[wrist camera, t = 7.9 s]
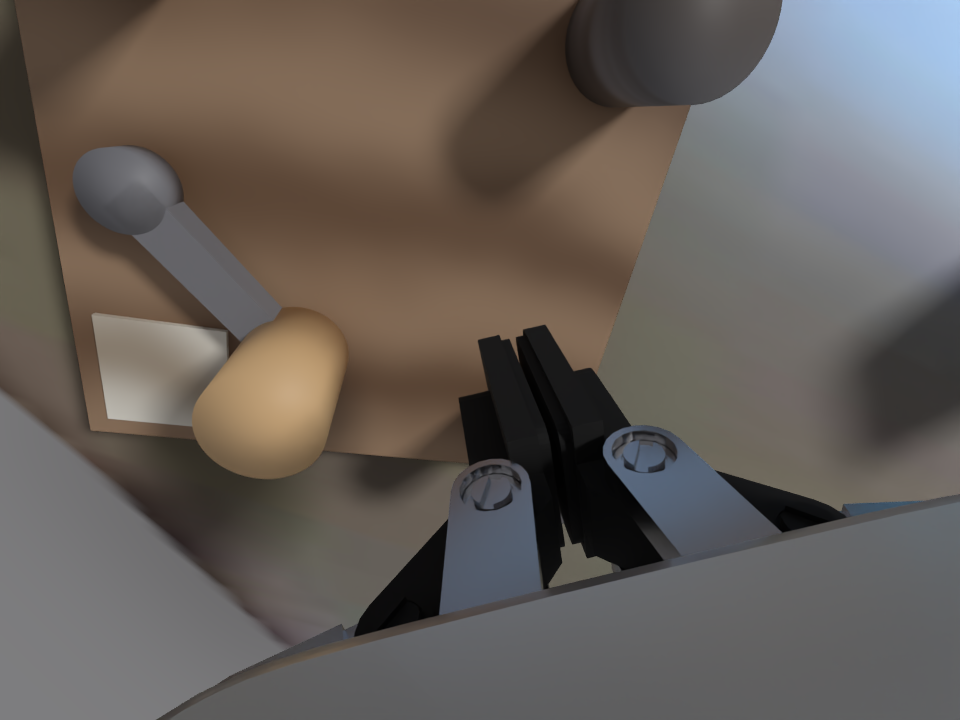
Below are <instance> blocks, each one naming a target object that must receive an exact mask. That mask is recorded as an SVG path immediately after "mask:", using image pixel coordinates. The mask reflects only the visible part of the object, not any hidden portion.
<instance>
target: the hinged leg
mask: <svg viewBox="0 0 960 720" xmlns="http://www.w3.org/2000/svg"><path fill="white" fill-rule="evenodd" d="M73 187H74V191H75V194H76V196H77V198H78V201H79V202H80V204H81V206H82V207H83V208H84V210H85V211H86V212H87V213H88V214H89V215H90V216H91V217H92V218H93V219H94V220H95V221H96V222H98V223H99V224H101V225H102V226H104V227H106V228H107V229H110V230H112V231H114V232H117V233H121V234H126V235H132V236H133V237H134V238H135V239H136V240H137V241H138V242H139V243H140V244H141V245H142V246H143V247H145V248H146V249H147V250H148V251H149V252H150V253H151V254H152V255H153V256H154V257H155V258H156V259H157V260H158V261H159V262H160V263H161V264H162V265H163V266H164V267H165V268H166V269H167V270H168V271H169V272H170V273H171V274H172V275H173V276H174V277H175V278H176V279H177V280H178V281H179V282H180V283H181V284H182V285H183V286H184V287H185V288H186V289H187V290H188V291H189V292H190V293H191V294H193V295H194V296H195V297H196V298H197V299H198V300H199V301H200V302H201V303H202V304H203V305H204V306H205V307H206V308H207V309H208V310H209V311H210V312H211V313H212V314H213V315H214V316H215V317H216V318H217V319H218V320H219V321H220V322H221V323H222V324H223V325H224V326H225V327H226V328H227V329H228V330H229V331H230V332H231V333H232V334H233V335H234V336H235V337H236V338H237V339H238V340H239V341H240V342H241V343H240V344H239V346H238V347H237V348H236V350H235V351H234V352H233V354H232V355H231V356H230V358H229V359H228V360H227V361H226V363H225V364H224V365H223V367H222V368H221V369H220V371H219V372H218V373H217V374H216V376H215V377H214V378H213V380H212V381H211V382H210V384H209V385H208V386H207V388H206V389H205V390H204V391H203V393H202V394H201V395H200V397H199V398H198V400H197V402H196V404H195V406H194V409H193V414H192V427H193V432H194V435H195V437H196V440H197V442H198V444H199V445H200V447H201V448H202V449H203V451H204V452H205V453H206V454H207V455H208V456H209V457H210V458H211V459H212V460H213V461H215V462H216V463H217V464H219V465H220V466H222V467H224V468H225V469H227V470H229V471H232V472H234V473H236V474H239V475H242V476H246V477H251V478H257V479H277V478H284V477H288V476H291V475H294V474H297V473H299V472H301V471H303V470H305V469H306V468H308V467H309V466H310V465H312V464H313V463H314V462H315V461H316V460H317V459H318V457H319V456H320V455H321V453H322V451H323V449H324V447H325V444H326V441H327V437H328V434H329V430H330V426H331V423H332V419H333V415H334V412H335V408H336V404H337V401H338V397H339V393H340V390H341V386H342V382H343V379H344V375H345V372H346V368H347V364H348V359H349V350H348V345H347V342H346V339H345V337H344V335H343V333H342V332H341V330H340V329H339V328H338V326H337V325H336V324H335V323H334V322H333V321H331V320H330V319H329V318H328V317H326V316H324V315H323V314H321V313H319V312H317V311H314V310H311V309H307V308H303V307H284V308H282V307H281V306H280V305H279V304H278V303H277V302H276V301H275V299H274V298H273V297H272V296H271V295H270V294H269V293H268V292H267V291H266V290H265V289H264V288H263V287H262V285H261V284H260V283H259V282H258V281H257V280H256V279H255V278H254V277H253V276H252V275H251V274H250V273H249V271H248V270H247V269H246V268H245V267H244V266H243V265H242V264H241V263H240V262H239V261H238V260H237V259H236V257H235V256H234V255H233V254H232V253H231V252H230V251H229V250H228V249H227V248H226V247H225V246H224V245H223V244H222V242H221V241H220V240H219V239H218V238H217V237H216V236H215V235H214V234H213V233H212V232H211V231H210V230H209V228H208V227H207V226H206V225H205V224H204V223H203V222H202V221H201V220H200V219H199V218H198V217H197V216H196V214H195V213H194V212H193V211H192V210H191V209H190V208H189V207H188V206H187V205H186V204H185V203H184V192H183V187H182V184H181V181H180V179H179V177H178V175H177V173H176V172H175V170H174V169H173V168H172V166H171V165H170V164H169V163H168V162H167V161H166V160H165V159H163V158H162V157H161V156H160V155H158V154H156V153H155V152H153V151H151V150H149V149H146V148H144V147H140V146H135V145H123V146H114V147H104V148H97V149H93V150H91V151H89V152H87V153H85V154H84V155H83V156H82V157H81V158H80V159H79V160H78V161H77V163H76V165H75V167H74V171H73Z"/></svg>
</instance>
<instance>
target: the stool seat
mask: <svg viewBox="0 0 960 720" xmlns="http://www.w3.org/2000/svg"><path fill="white" fill-rule="evenodd" d="M14 2H15V7H16V13H17V19H18V24H19V30H20V36H21V41H22V47H23V52H24V58H25V64H26V69H27V75H28V81H29V86H30V92H31V97H32V103H33V109H34V114H35V120H36V126H37V131H38V137H39V142H40V148H41V154H42V159H43V165H44V171H45V176H46V182H47V187H48V193H49V199H50V204H51V210H52V216H53V221H54V227H55V232H56V238H57V244H58V249H59V255H60V261H61V266H62V272H63V277H64V283H65V289H66V294H67V300H68V306H69V311H70V317H71V322H72V328H73V334H74V339H75V345H76V351H77V356H78V362H79V367H80V373H81V379H82V384H83V390H84V396H85V401H86V407H87V412H88V418H89V424H90V429H91V431H102V432H114V433H125V434H137V435H148V436H160V437H171V438H183V439H194V440H196V437H195V435H194V432H193V427H192V414H193V409H194V406H195V404H196V402H197V400H198V398H199V397H200V395H201V394H202V393H203V391H204V390H205V389H206V388H207V386H208V385H209V384H210V382H211V381H212V380H213V378H214V377H215V376H216V374H217V373H218V372H219V371H220V369H221V368H222V367H223V365H224V364H225V363H226V361H227V360H228V359H229V358H230V356H231V355H232V354H233V352H234V351H235V350H236V348H237V347H238V346H239V344H240V343H241V342H240V341H239V340H238V339H237V338H236V337H235V336H234V335H233V334H232V333H231V332H230V331H229V330H228V329H227V328H226V327H225V326H224V325H223V324H222V323H221V322H220V321H219V320H218V319H217V318H216V317H215V316H214V315H213V314H212V313H211V312H210V311H209V310H208V309H207V308H206V307H205V306H204V305H203V304H202V303H201V302H200V301H199V300H198V299H197V298H196V297H195V296H194V295H193V294H191V293H190V292H189V291H188V290H187V289H186V288H185V287H184V286H183V285H182V284H181V283H180V282H179V281H178V280H177V279H176V278H175V277H174V276H173V275H172V274H171V273H170V272H169V271H168V270H167V269H166V268H165V267H164V266H163V265H162V264H161V263H160V262H159V261H158V260H157V259H156V258H155V257H154V256H153V255H152V254H151V253H150V252H149V251H148V250H147V249H146V248H145V247H143V246H142V245H141V244H140V243H139V242H138V241H137V240H136V239H135V238H134V237H133V236H132V235H126V234H121V233H117V232H114V231H112V230H110V229H107V228H106V227H104V226H102V225H101V224H99V223H98V222H96V221H95V220H94V219H93V218H92V217H91V216H90V215H89V214H88V213H87V212H86V211H85V210H84V208H83V207H82V206H81V204H80V202H79V201H78V198H77V196H76V194H75V191H74V187H73V171H74V167H75V165H76V163H77V161H78V160H79V159H80V158H81V157H82V156H83V155H84V154H85V153H87V152H89V151H91V150H93V149H97V148H104V147H114V146H123V145H135V146H140V147H144V148H146V149H149V150H151V151H153V152H155V153H156V154H158V155H160V156H161V157H162V158H163V159H165V160H166V161H167V162H168V163H169V164H170V165H171V166H172V168H173V169H174V170H175V172H176V173H177V175H178V177H179V179H180V181H181V184H182V187H183V192H184V203H185V204H186V205H187V206H188V207H189V208H190V209H191V210H192V211H193V212H194V213H195V214H196V216H197V217H198V218H199V219H200V220H201V221H202V222H203V223H204V224H205V225H206V226H207V227H208V228H209V230H210V231H211V232H212V233H213V234H214V235H215V236H216V237H217V238H218V239H219V240H220V241H221V242H222V244H223V245H224V246H225V247H226V248H227V249H228V250H229V251H230V252H231V253H232V254H233V255H234V256H235V257H236V259H237V260H238V261H239V262H240V263H241V264H242V265H243V266H244V267H245V268H246V269H247V270H248V271H249V273H250V274H251V275H252V276H253V277H254V278H255V279H256V280H257V281H258V282H259V283H260V284H261V285H262V287H263V288H264V289H265V290H266V291H267V292H268V293H269V294H270V295H271V296H272V297H273V298H274V299H275V301H276V302H277V303H278V304H279V305H280V306H281V307H282V308H284V307H303V308H307V309H311V310H314V311H317V312H319V313H321V314H323V315H324V316H326V317H328V318H329V319H330V320H331V321H333V322H334V323H335V324H336V325H337V326H338V328H339V329H340V330H341V332H342V333H343V335H344V337H345V339H346V342H347V345H348V350H349V359H348V364H347V368H346V372H345V375H344V379H343V382H342V386H341V390H340V393H339V397H338V401H337V404H336V408H335V412H334V415H333V419H332V423H331V426H330V430H329V434H328V437H327V441H326V444H325V447H324V449H323V451H332V452H343V453H354V454H366V455H377V456H389V457H400V458H412V459H423V460H435V461H446V462H458V463H469V461H468V455H467V449H466V443H465V436H464V430H463V424H462V418H461V412H460V406H459V399H458V398H459V397H463V396H468V395H472V394H476V393H481V392H485V391H488V388H487V383H486V378H485V373H484V369H483V364H482V359H481V355H480V350H479V345H478V340H479V339H483V338H488V337H492V336H496V335H500V338H501V340H505V339H510V341H511V344H512V346H513V349H514V351H515V353H516V356H517V358H518V361H519V357H518V351H517V345H516V337H518V336H523V329H527V328H532V327H536V326H540V325H546V326H547V328H548V329H549V331H550V333H551V334H552V336H553V338H554V339H555V341H556V343H557V344H558V346H559V348H560V349H561V351H562V353H563V354H564V356H565V358H566V359H567V361H568V363H569V364H570V366H571V368H572V369H573V371H576V370H581V369H585V368H592V369H593V371H594V372H595V373H596V374H597V371H598V368H599V365H600V363H601V360H602V357H603V354H604V351H605V348H606V346H607V343H608V340H609V337H610V334H611V331H612V328H613V326H614V323H615V320H616V317H617V314H618V311H619V309H620V306H621V303H622V300H623V297H624V294H625V291H626V289H627V286H628V283H629V280H630V277H631V274H632V271H633V269H634V266H635V263H636V260H637V257H638V254H639V252H640V249H641V246H642V243H643V240H644V237H645V234H646V232H647V229H648V226H649V223H650V220H651V217H652V215H653V212H654V209H655V206H656V203H657V200H658V197H659V195H660V192H661V189H662V186H663V183H664V180H665V177H666V175H667V172H668V169H669V166H670V163H671V160H672V158H673V155H674V152H675V149H676V146H677V143H678V140H679V138H680V135H681V132H682V129H683V126H684V123H685V120H686V118H687V115H688V112H689V109H690V106H691V105H696V104H703V103H706V102H710V101H713V100H715V99H717V98H720V97H722V96H723V95H725V94H727V93H728V92H730V91H731V90H733V89H734V88H735V87H737V86H738V85H739V84H740V83H741V82H742V81H743V80H744V79H746V78H747V77H748V75H749V74H750V73H751V72H752V71H753V70H754V68H755V67H756V66H757V64H758V63H759V61H760V60H761V59H762V57H763V55H764V54H765V52H766V50H767V48H768V47H769V44H770V42H771V40H772V38H773V35H774V33H775V30H776V27H777V24H778V20H779V16H780V12H781V6H782V0H14ZM560 514H561V513H560ZM561 521H562V524H563V523H564V521H563V518H562V516H561Z"/></svg>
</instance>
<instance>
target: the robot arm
mask: <svg viewBox="0 0 960 720" xmlns="http://www.w3.org/2000/svg"><path fill="white" fill-rule="evenodd" d="M478 345H479V350H480V355H481V359H482V364H483V369H484V373H485V378H486V383H487V388H488V391H485V392H481V393H476V394H472V395H468V396H463V397H459V398H458V399H459V406H460V412H461V418H462V424H463V430H464V436H465V443H466V449H467V455H468V461H469V467H468V468H466V469H465V470H464V471H463V472H461V473H460V474H459V475H458V477H457V478H456V480H455V481H454V483H453V486H452V490H451V496H450V507H449V517H448V520H447V521H446V522H445V523H444V524H443V525H442V526H441V527H440V528H439V530H438V531H437V532H436V533H435V534H434V535H433V536H432V537H431V538H430V539H429V541H428V542H427V543H426V544H425V545H424V546H423V547H422V548H421V549H420V550H419V552H418V553H417V554H416V555H415V556H414V557H413V558H412V559H411V560H410V561H409V562H408V564H407V565H406V566H405V567H404V568H403V569H402V570H401V571H400V572H399V573H398V575H397V576H396V577H395V578H394V579H393V580H392V581H391V582H390V583H389V584H388V586H387V587H386V588H385V589H384V590H383V591H382V592H381V593H380V594H379V595H378V597H377V598H376V599H375V600H374V601H373V602H372V603H371V604H370V605H369V607H368V608H367V609H366V611H365V612H364V614H363V615H362V616H361V618H360V620H359V623H358V624H356V625H354V626H352V627H350V628H348V629H346V630H345V629H344V627H343V626H342V624H340V625H338V626H336V627H334V628H332V629H330V630H327V631H325V632H323V633H321V634H319V635H317V636H315V637H312V638H310V639H308V640H306V641H304V642H302V643H300V644H297V645H295V646H293V647H291V648H289V649H287V650H284V651H282V652H280V653H278V654H276V655H274V656H272V657H270V658H267V659H265V660H263V661H261V662H259V663H257V664H255V665H253V666H250V667H248V668H246V669H244V670H242V671H239V672H237V673H235V674H233V675H231V676H229V677H228V678H226V679H225V680H223V681H221V682H220V683H218V684H217V685H215V686H213V687H211V688H209V689H207V690H205V691H203V692H201V693H199V694H197V695H195V696H194V697H192V698H190V699H189V700H187V701H186V702H184V703H182V704H181V705H179V706H178V707H176V708H174V709H173V710H171V711H170V712H168V713H166V714H165V715H163V716H162V717H160V718H158V719H157V720H960V494H958V495H952V496H946V497H940V498H936V499H931V500H926V501H907V502H882V503H857V504H843V508H842V511H837V510H836V509H834V508H833V507H831V506H829V505H826V504H824V503H821V502H819V501H816V500H814V499H810V498H807V497H804V496H800V495H797V494H793V493H790V492H787V491H783V490H780V489H776V488H773V487H770V486H766V485H763V484H760V483H756V482H753V481H749V480H746V479H743V478H739V477H736V476H732V475H729V474H726V473H722V472H719V471H716V470H713V469H712V468H711V467H710V466H709V465H708V464H707V463H706V462H705V461H704V460H703V459H701V458H700V457H699V456H698V455H697V454H696V453H695V452H694V451H693V450H692V449H691V448H689V447H688V446H687V445H686V444H685V443H684V442H683V441H682V440H681V439H680V438H678V437H677V436H676V435H674V434H673V433H671V432H669V431H667V430H664V429H662V428H659V427H653V426H647V425H640V426H631V425H630V424H629V422H628V421H627V419H626V418H625V416H624V415H623V413H622V412H621V410H620V409H619V407H618V406H617V404H616V403H615V401H614V400H613V398H612V397H611V395H610V394H609V392H608V391H607V390H606V388H605V387H604V385H603V384H602V382H601V381H600V379H599V378H598V376H597V375H596V373H595V372H594V371H593V369H592V368H585V369H581V370H576V371H573V369H572V368H571V366H570V364H569V363H568V361H567V359H566V358H565V356H564V354H563V353H562V351H561V349H560V348H559V346H558V344H557V343H556V341H555V339H554V338H553V336H552V334H551V333H550V331H549V329H548V328H547V326H546V325H540V326H536V327H532V328H527V329H523V336H518V337H516V345H517V351H518V357H519V361H518V358H517V356H516V353H515V351H514V349H513V346H512V344H511V341H510V339H505V340H501V338H500V335H496V336H492V337H488V338H483V339H479V340H478ZM560 513H561V514H560ZM561 516H562V518H563V521H564V524H565V527H566V529H567V532H568V535H569V538H570V540H571V542H572V544H577V543H581V544H582V546H583V549H584V552H585V554H586V557H587V558H590V557H595V556H597V557H600V558H602V559H604V560H606V561H608V562H611V565H612V570H613V573H611V574H607V575H603V576H598V577H594V578H590V579H586V580H582V581H578V582H573V583H569V584H565V585H561V586H557V587H553V588H549V582H550V581H551V579H552V578H553V576H554V574H555V573H556V571H557V570H558V568H559V567H560V565H561V564H562V558H561V551H560V547H564V546H565V542H564V535H563V528H562V521H561Z"/></svg>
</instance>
